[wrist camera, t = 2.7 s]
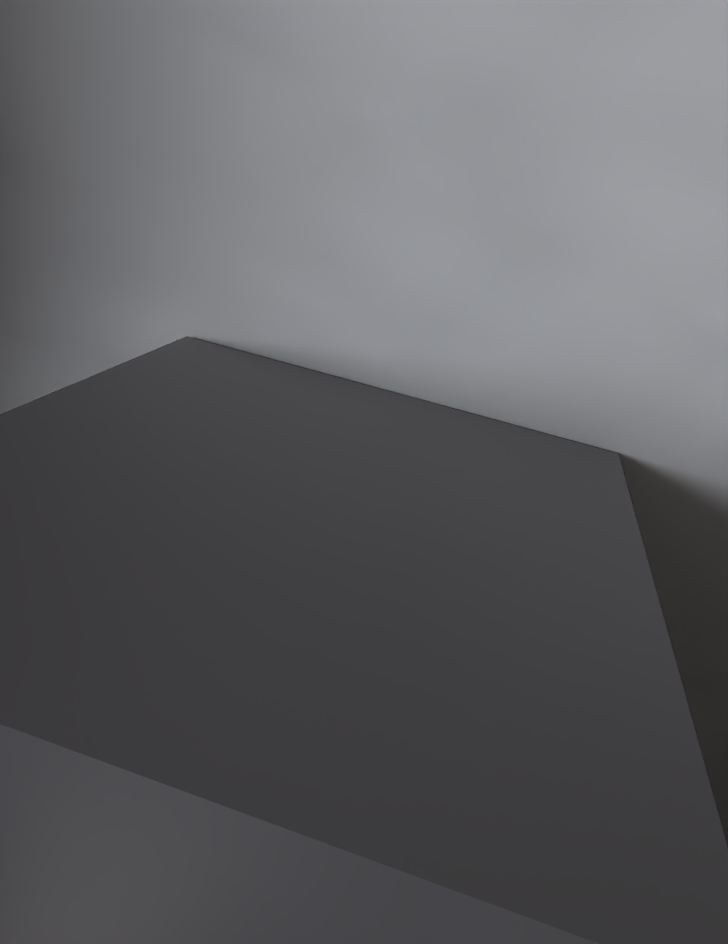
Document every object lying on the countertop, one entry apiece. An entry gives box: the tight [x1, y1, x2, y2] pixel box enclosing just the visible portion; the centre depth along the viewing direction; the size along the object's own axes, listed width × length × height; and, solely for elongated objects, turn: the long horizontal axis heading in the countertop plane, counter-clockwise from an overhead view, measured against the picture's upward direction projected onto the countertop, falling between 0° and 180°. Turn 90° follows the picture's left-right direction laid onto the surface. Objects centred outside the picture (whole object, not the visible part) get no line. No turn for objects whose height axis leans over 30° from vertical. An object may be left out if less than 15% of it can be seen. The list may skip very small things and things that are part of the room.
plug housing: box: [0, 337, 728, 944], centre depth 6 cm, size 8×4×5 cm, turn 168°
